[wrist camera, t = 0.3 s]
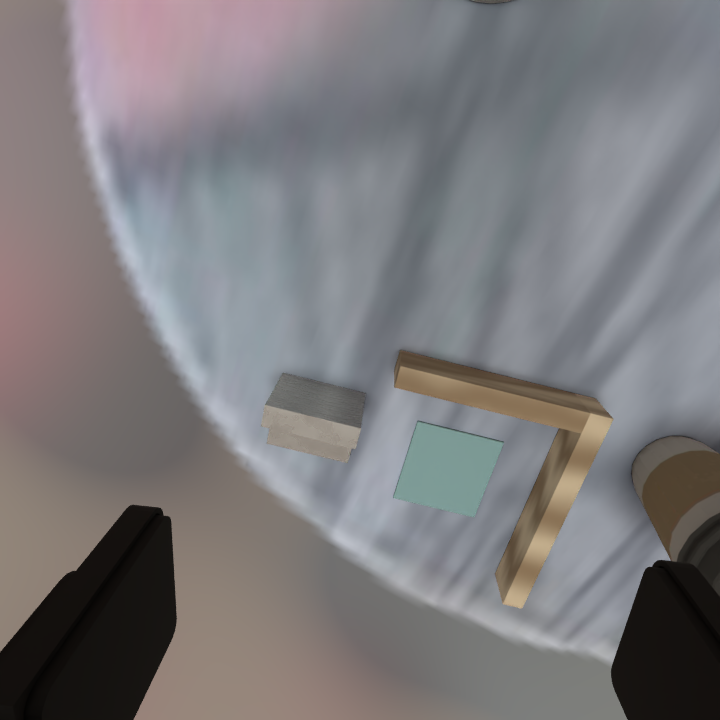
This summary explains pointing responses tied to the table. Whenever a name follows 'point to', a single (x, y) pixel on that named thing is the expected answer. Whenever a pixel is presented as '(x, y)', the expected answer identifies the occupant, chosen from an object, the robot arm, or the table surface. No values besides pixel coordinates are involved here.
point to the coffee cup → (683, 500)
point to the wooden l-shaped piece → (560, 470)
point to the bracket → (314, 417)
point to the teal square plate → (447, 469)
